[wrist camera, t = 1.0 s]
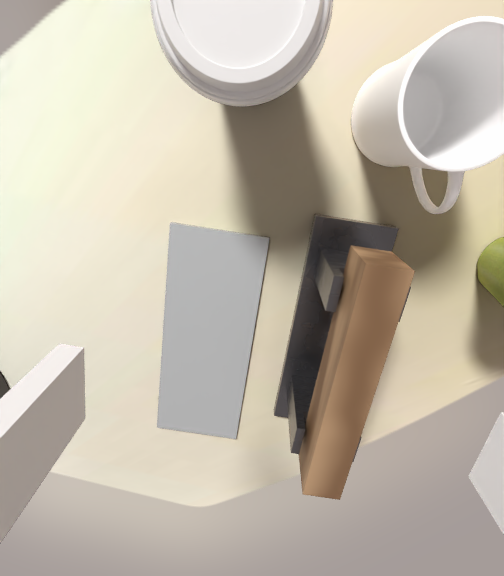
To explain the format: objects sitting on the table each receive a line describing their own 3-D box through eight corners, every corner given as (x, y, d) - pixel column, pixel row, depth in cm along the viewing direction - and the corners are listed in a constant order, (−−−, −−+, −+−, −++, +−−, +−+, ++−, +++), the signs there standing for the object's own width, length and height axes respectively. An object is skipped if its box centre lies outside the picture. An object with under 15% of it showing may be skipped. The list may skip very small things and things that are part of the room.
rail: (298, 451, 37) (302, 494, 33) (350, 245, 29) (365, 263, 25) (331, 455, 37) (339, 499, 33) (391, 251, 29) (415, 271, 25)
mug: (442, 197, 34) (526, 221, 23) (351, 206, 35) (390, 234, 24) (453, 53, 30) (561, -2, 19) (350, 67, 31) (396, 21, 20)
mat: (157, 425, 46) (157, 427, 45) (171, 222, 36) (170, 223, 36) (236, 436, 46) (235, 438, 46) (269, 237, 37) (269, 238, 36)
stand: (273, 409, 44) (275, 474, 35) (314, 213, 36) (329, 235, 27) (338, 419, 44) (355, 486, 36) (395, 226, 36) (436, 252, 27)
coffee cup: (330, 67, 31) (381, 1, 17) (245, 144, 34) (228, 142, 20) (259, -39, 29) (250, -217, 15) (173, 52, 31) (95, -25, 17)
